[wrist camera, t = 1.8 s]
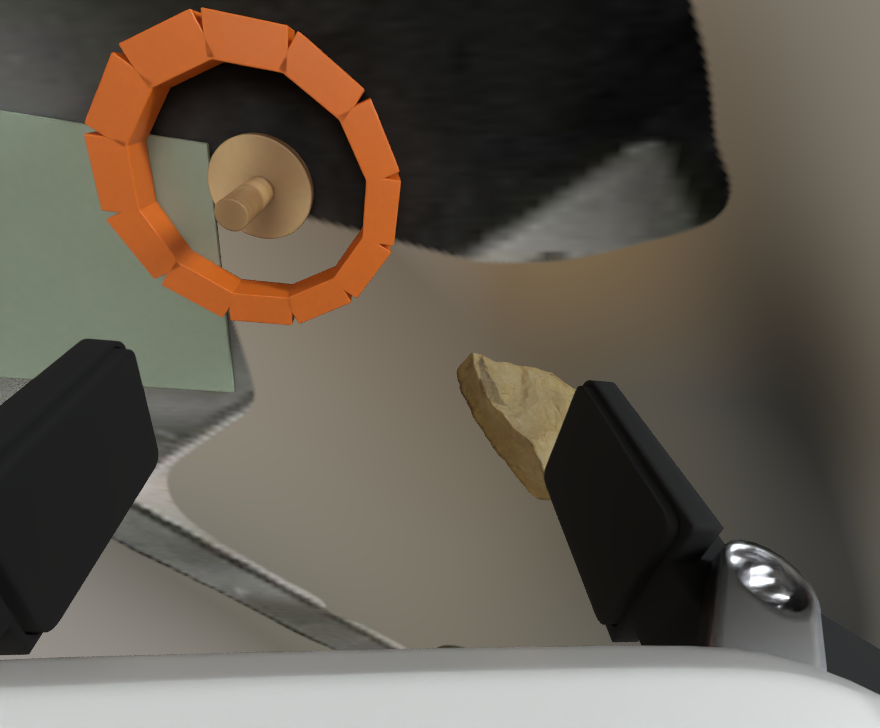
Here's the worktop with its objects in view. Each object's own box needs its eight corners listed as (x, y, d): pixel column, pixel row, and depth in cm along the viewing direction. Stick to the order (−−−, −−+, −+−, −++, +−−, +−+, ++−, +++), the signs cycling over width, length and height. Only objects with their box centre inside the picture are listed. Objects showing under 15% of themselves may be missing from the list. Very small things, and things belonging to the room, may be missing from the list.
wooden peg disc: (217, 227, 28) (174, 266, 22) (207, 123, 25) (152, 136, 19) (313, 240, 29) (295, 279, 23) (314, 141, 26) (294, 159, 20)
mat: (-27, 372, 32) (-31, 375, 32) (-166, 84, 23) (-174, 84, 22) (234, 389, 35) (233, 392, 35) (209, 143, 26) (206, 143, 25)
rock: (420, 392, 34) (481, 476, 38) (490, 409, 27) (556, 510, 31) (504, 310, 38) (551, 393, 42) (584, 305, 31) (632, 406, 35)
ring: (140, 296, 30) (124, 312, 28) (76, -16, 21) (45, -26, 19) (383, 317, 33) (384, 332, 31) (411, 54, 24) (415, 51, 22)
